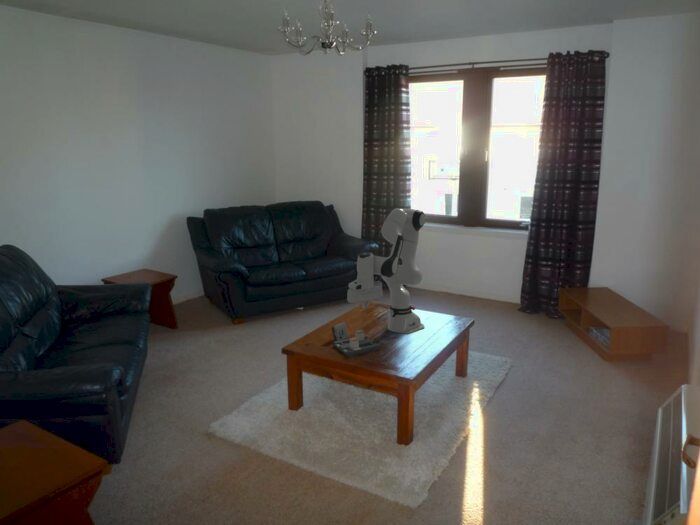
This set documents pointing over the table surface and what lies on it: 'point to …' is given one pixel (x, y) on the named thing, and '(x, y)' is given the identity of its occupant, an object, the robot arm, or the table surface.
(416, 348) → the table surface
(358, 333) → the tab
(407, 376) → the table surface
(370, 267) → the robot arm
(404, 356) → the table surface
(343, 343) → the switch bank
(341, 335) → the electrical switch
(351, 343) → the tab
